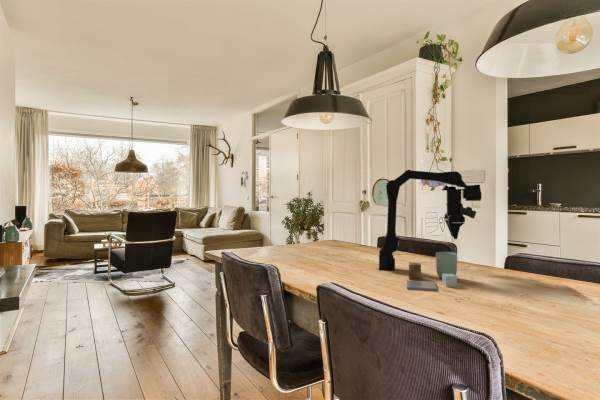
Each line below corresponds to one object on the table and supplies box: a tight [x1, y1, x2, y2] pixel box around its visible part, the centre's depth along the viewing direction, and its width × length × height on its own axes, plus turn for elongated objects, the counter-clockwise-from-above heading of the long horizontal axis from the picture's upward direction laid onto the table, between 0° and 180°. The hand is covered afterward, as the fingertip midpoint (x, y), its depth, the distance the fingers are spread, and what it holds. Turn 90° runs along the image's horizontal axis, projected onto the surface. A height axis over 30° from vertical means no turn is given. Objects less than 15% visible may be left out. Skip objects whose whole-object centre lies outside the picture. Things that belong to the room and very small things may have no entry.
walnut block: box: [408, 262, 422, 281], centre depth 145 cm, size 4×4×6 cm
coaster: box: [406, 279, 438, 292], centre depth 133 cm, size 10×10×1 cm
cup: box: [435, 251, 458, 279], centre depth 144 cm, size 8×8×10 cm
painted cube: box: [441, 274, 458, 288], centre depth 133 cm, size 4×4×4 cm
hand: (454, 237), depth 155 cm, fingers open, 9 cm apart
